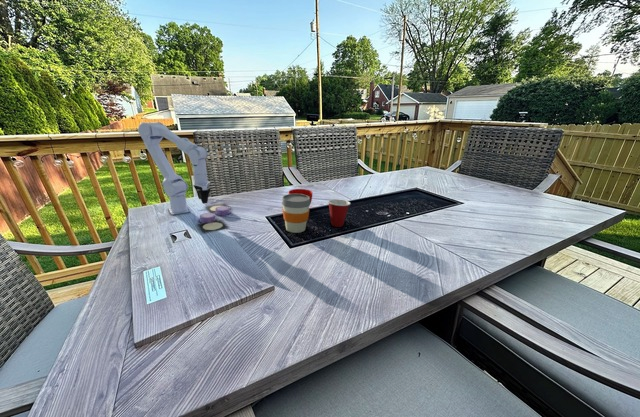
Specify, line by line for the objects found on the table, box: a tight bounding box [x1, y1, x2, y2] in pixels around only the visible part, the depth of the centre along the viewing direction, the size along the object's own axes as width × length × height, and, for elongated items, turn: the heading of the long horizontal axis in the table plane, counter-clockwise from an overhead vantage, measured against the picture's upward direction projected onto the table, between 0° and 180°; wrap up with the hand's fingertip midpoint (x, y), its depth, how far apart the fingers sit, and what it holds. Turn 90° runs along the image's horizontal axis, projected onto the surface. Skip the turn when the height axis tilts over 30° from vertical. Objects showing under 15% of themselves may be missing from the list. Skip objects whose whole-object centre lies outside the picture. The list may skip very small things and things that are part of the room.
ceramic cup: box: [288, 188, 313, 207], centre depth 141 cm, size 13×17×10 cm
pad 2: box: [197, 220, 228, 234], centre depth 118 cm, size 10×10×1 cm
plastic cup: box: [327, 198, 351, 228], centre depth 125 cm, size 11×11×12 cm
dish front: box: [199, 212, 217, 224], centre depth 124 cm, size 7×7×2 cm
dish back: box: [215, 205, 231, 216], centre depth 134 cm, size 7×7×3 cm
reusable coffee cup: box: [281, 193, 311, 234], centre depth 118 cm, size 13×12×15 cm
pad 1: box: [205, 203, 231, 213], centre depth 140 cm, size 10×10×1 cm
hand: (203, 200), depth 127 cm, fingers open, 7 cm apart
